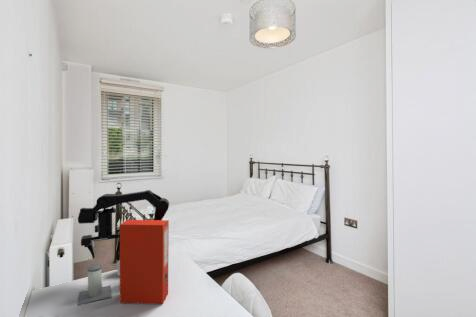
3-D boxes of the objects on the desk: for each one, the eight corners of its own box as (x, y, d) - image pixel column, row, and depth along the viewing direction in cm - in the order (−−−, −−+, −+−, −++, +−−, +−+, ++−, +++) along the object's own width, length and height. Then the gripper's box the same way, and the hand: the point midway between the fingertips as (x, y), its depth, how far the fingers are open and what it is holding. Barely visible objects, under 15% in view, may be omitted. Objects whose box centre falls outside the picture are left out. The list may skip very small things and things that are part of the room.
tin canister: (99, 289, 112) (99, 262, 112) (104, 293, 109) (103, 266, 108) (86, 294, 109) (85, 266, 108) (90, 299, 105) (89, 270, 104)
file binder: (128, 292, 111) (128, 219, 110) (168, 293, 111) (168, 220, 110) (119, 303, 103) (119, 224, 102) (162, 304, 103) (162, 225, 102)
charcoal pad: (110, 286, 116) (110, 285, 116) (111, 297, 107) (111, 296, 107) (79, 293, 110) (79, 291, 110) (77, 305, 101) (77, 304, 101)
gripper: (126, 216, 128) (126, 246, 129) (82, 220, 119) (82, 253, 120) (128, 221, 118) (128, 255, 119) (80, 226, 109) (80, 263, 110)
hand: (105, 256), depth 117 cm, fingers open, 9 cm apart
